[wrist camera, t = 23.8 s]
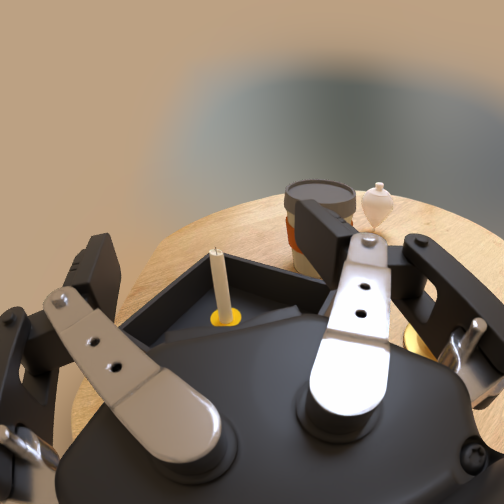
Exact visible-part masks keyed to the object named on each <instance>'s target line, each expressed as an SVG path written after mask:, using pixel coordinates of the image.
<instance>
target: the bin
mask: <svg viewBox="0 0 504 504" xmlns="http://www.w3.org/2000/svg"><path fill="white" fill-rule="evenodd" d="M223 255H224V261H225V266H226V273H227V280H228V287H229V294H230V301H231V308H235V309H237V310H238V311H239V312H240V314H241V321H240V322H239V324H240V323H242V322H244V321H247V320H249V319H251V318H253V317H256V316H258V315H260V314H263V313H265V312H269V311H273V310H278V309H282V308H286V307H290V306H295V305H296V306H297V307H298V309H299V311H300V313H301V314H316V315H322V316H327V317H330V315H331V311H332V308H333V304H334V301H335V297H336V293H337V289H336V290H332V291H331V290H330V289H329V287H328V286H327V285H326V283H325V282H324V281H323V280H320V279H316V278H313V277H309V276H305V275H302V274H298V273H294V272H291V271H287V270H284V269H280V268H276V267H273V266H269V265H265V264H262V263H258V262H255V261H251V260H247V259H244V258H240V257H237V256H233V255H229V254H226V253H223ZM216 310H218V308H217V302H216V296H215V290H214V283H213V277H212V271H211V264H210V254H209V253H208V254H207V255H205V256H204V257H203V258H202V259H200V260H199V261H198V262H197V263H195V264H194V265H193V266H192V267H191V268H189V269H188V270H187V271H186V272H184V273H183V274H182V275H181V276H179V277H178V278H177V279H176V280H175V281H173V282H172V283H171V284H170V285H168V286H167V287H166V288H165V289H164V290H162V291H161V292H160V293H159V294H157V295H156V296H155V297H154V298H153V299H151V300H150V301H149V302H148V303H147V304H145V305H144V306H143V307H142V308H141V309H139V310H138V311H137V312H136V313H135V314H133V315H132V316H131V317H130V318H129V319H127V320H126V321H125V322H124V323H123V324H121V325H120V326H119V327H118V328H119V329H120V330H121V331H122V332H123V333H124V334H125V335H126V336H127V337H128V338H129V339H130V340H131V341H132V342H133V343H134V344H135V345H136V346H138V347H139V348H140V349H141V350H142V351H143V352H144V353H146V352H147V351H149V350H151V349H152V348H154V347H156V346H158V345H160V344H162V343H164V342H165V332H168V331H174V330H180V329H185V328H191V327H196V326H213V325H212V323H211V319H210V318H211V315H212V314H213V312H215V311H216Z"/></svg>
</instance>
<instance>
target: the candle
mask: <svg viewBox="0 0 504 504" xmlns="http://www.w3.org/2000/svg"><path fill="white" fill-rule="evenodd" d="M209 254H210V264H211V271H212V277H213V283H214V290H215V296H216V302H217V308H218V310H216V311H215V312H213V314H212V315H211V318H210V319H211V323H212V325H213V326H234V325H237V324H239V322H240V321H241V314H240V312H239V311H238V310H237V309H235V308H231V301H230V294H229V287H228V280H227V273H226V266H225V261H224V255H223V252H222V251H221V250H219V249H216V247H215V249H211V250H210V251H209Z"/></svg>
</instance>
